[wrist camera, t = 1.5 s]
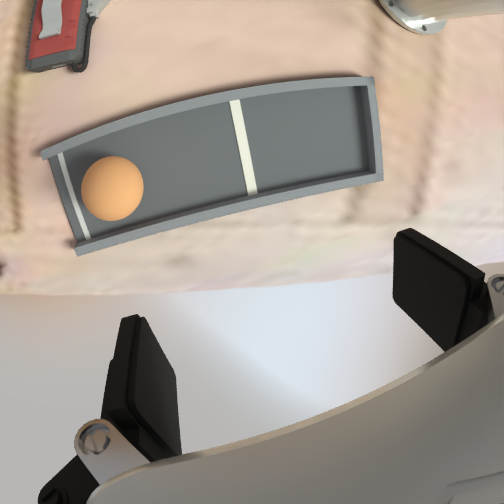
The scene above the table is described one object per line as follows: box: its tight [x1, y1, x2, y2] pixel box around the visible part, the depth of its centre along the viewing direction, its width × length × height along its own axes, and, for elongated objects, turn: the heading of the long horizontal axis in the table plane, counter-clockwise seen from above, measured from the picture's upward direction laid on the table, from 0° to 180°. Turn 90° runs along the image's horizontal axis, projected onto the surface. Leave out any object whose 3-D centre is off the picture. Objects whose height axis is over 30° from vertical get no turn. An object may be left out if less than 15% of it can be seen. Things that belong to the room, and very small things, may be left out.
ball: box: [81, 156, 144, 221], centre depth 26 cm, size 6×6×6 cm
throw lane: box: [40, 77, 384, 256], centre depth 29 cm, size 12×35×2 cm, turn 101°
